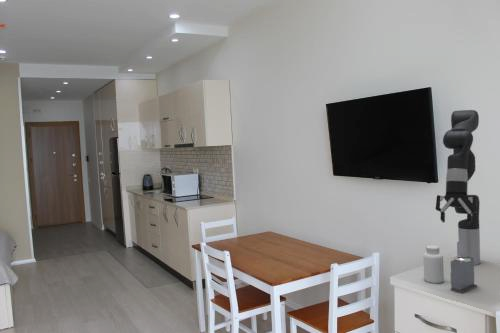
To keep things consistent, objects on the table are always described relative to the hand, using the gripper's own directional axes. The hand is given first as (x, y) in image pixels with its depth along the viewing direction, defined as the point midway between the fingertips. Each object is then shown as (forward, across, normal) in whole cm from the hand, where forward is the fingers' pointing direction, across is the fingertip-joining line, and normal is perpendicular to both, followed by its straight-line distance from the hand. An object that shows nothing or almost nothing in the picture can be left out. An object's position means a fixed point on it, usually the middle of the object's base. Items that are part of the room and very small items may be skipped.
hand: (455, 223), depth 165 cm
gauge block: (+26, -2, -20) cm, 33 cm away
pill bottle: (+25, +10, -26) cm, 37 cm away
